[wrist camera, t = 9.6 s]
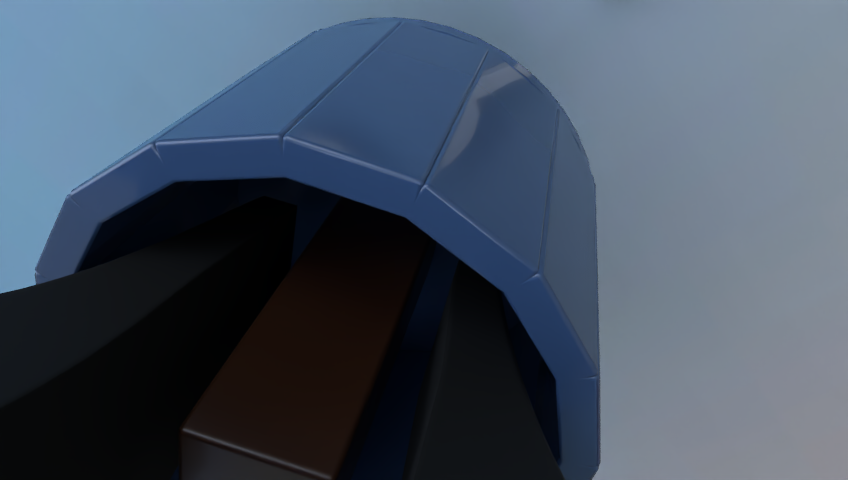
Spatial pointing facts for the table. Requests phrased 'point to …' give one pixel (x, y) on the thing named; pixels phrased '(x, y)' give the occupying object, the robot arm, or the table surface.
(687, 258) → the table surface
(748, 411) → the table surface
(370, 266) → the dark brown square post
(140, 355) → the robot arm
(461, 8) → the table surface
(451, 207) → the cup
